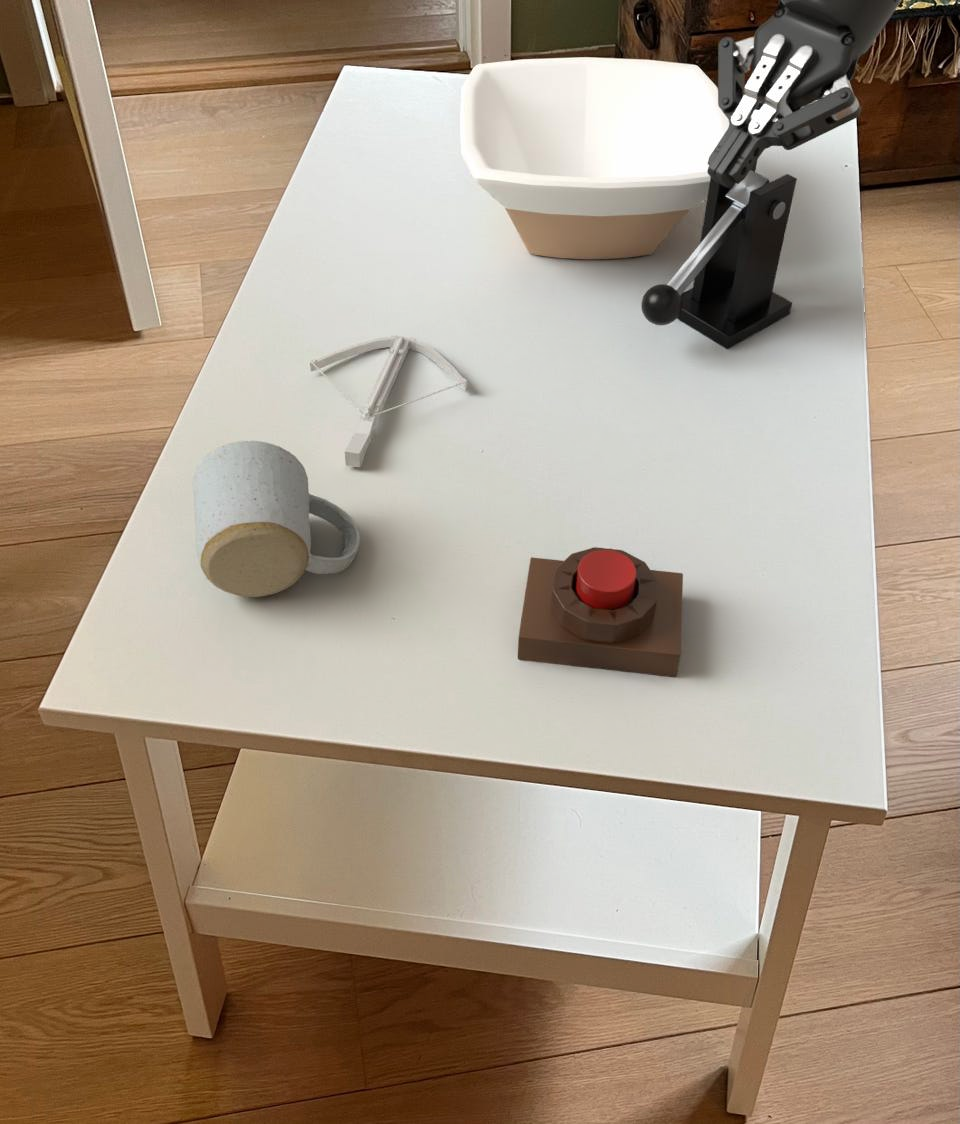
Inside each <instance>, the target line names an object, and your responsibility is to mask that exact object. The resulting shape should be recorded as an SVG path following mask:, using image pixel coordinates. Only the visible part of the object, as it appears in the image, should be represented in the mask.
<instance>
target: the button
mask: <svg viewBox="0 0 960 1124" xmlns="http://www.w3.org/2000/svg"><path fill="white" fill-rule="evenodd" d="M635 579H636V568H635V566H634V564H633V562H632V561H631V560H630V559H629V558H628V557H627V556H625V555H623V554H621V553H619V552H616V551H612V550H598V551H594V552H591V553H589V554H587V555H586V556H585V557H583V559H582V560H581V561H580V563H579V565H578V572H577V583H576V590H577V594H578V595H579V597H580V599H581V600H582V601H583V602H584V603H586V604H587V605H589V606H591V607H593V608H596V609H603V610H614V609H618V608H621V607H623V606H624V605H626V604H627V603H628V602H629V601H630V600H631V598H632V596H633V593H634V586H635Z"/></svg>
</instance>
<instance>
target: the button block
mask: <svg viewBox="0 0 960 1124" xmlns="http://www.w3.org/2000/svg"><path fill="white" fill-rule="evenodd" d="M598 550H612V551H616V552H619V553H621V554H623V555H625V556H627V557H628V558H629V559H630V560H631V561H632V562H633V564H634V566H635V568H636V579H635V586H634V593H633V596H632V598H631V600H630V601H629V602H628V603H627V604H626V605H624V606H623V607H621V608H618V609H614V610H603V609H596V608H593V607H591V606H589V605H587V604H586V603H584V602H583V601H582V600H581V599H580V597H579V595H578V594H577V590H576V583H577V572H578V565H579V563H580V561H581V560H582V559H583V557H585V556H586V555H587V554H589V553H591V552H594V551H598ZM528 565H529V566H528V571H527V577H526V580H527V581H526V585H525V593H524V598H523V604H522V610H521V611H522V612H521V619H520V626H519V631H518V638H517V660H523V661H529V662H530V661H532V662H540V663H548V664H558V665H565V666H566V665H567V666H574V667H576V666H577V667H584V668H592V669H602V670H611V671H612V670H613V671H620V672H628V673H629V672H630V673H639V674H646V675H656V676H663V677H665V676H666V677H673V678H676V677H677V675H678V670H679V667H680V666H679V665H680V661H681V656H682V626H683V624H682V623H683V588H684V573H683V572H674V571H673V572H672V571H667V570H666V571H665V570H656V569H650V567H649V566H648V564H647V563H646V562H645V561H644V560H642V559H640V558H638V557H636V556H634V555H633V554H630V553H629V552H627V551H625V550H623V549H615V548H605V547H595V546H594V547H590V548H586V549H583V550H580V551H577V552H574V553H571V554H570V555H568V557H567V558H566V559H565V560H560V559H553V558H551V559H550V558H542V557H533V556H532V557H530V559H529V564H528Z"/></svg>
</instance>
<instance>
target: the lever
mask: <svg viewBox="0 0 960 1124" xmlns="http://www.w3.org/2000/svg"><path fill="white" fill-rule="evenodd" d="M769 182H770V179H769V178H768V177H766V176H763V175H762V174H760V173H758V172H756V171H755V172H754V171H752V170H750V171H749V172H748V174H747V176H746V177H745V179H744V180H743V181H741V182H740V183H739V184H737V183H735V185H734V186H733V187H732V188H731V189H730V190H729V192H728V193H727V194H726V195H725V197H726V199H727V201H728V204H729V206H730V207H729V208H728V210H727V211H726V212H725V213H724V215H723V216H722V217H721V218H720V220H719V221H718V222H717V223H716V225H715V226H714V227H713V228H712V229H711V231H710V232H709V233H708V234H707V236H706V237H705V238H704V239H703V241H702V242H701V243H700V242H699V244H698V245H697V246H696V248H695V249H694V250H693V251H692V252H691V254H690V255H689V257H688V258H687V259H686V260H685V261H684V263H683V264H682V265H681V266H680V268H679V269H678V270H677V271H676V272H675V274H674V275H673V276H672V277H671V279H670V280H669V281H668V282H667V284H665V283H664V284H663V283H662V284H656V285H653V286H651V287H650V288H649V289H647V290H646V292H644V295H643V296H642V300H641V305H640V306H641V313H642V314H643V317H644V318H645V319H646V320H647V321H648V322H649V323H651V324H653V325H654V326H655V325H656V326H666V325H669V324H671V323H674V322H675V320H677V317H678V316H679V314H680V312H681V309H682V300H681V295H682V293H684V292H686V291H687V289H688V288H689V286H690V285H691V284H692V282H694V279H695V277H696V276H697V275H698V274H699V272H700V271H701V270H702V269H703V267H704V266H705V265H706V264H707V263H708V261H709V260H710V259H711V258H712V256H713V255H714V254H715V253H716V251H717V250H718V249H719V248H720V247H721V245H722V244H723V243H724V242H725V240H726V239H727V238H728V237H729V235H730V234H731V233H732V232H733V231H734V229H735V228H736V227H737V226H738V224H739V223H740V222H741V221H742V219H743V218H744V219H745V218H746V213H747V208H748V202H749V197H750V192H751V191H753V190H755V189H757V188H759V187H761V186H763V185H765V184H767V183H769Z"/></svg>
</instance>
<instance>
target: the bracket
mask: <svg viewBox="0 0 960 1124" xmlns="http://www.w3.org/2000/svg"><path fill="white" fill-rule="evenodd" d="M757 164H758V160H757V161H756V162H755V164H754V165H753V167H752V168H751V170H752V171H754V172H756V170H757ZM797 179H798V178H796V177H795V176H793V175H791V174H790V173H786V174H784V175H782V176H780V177H778V178H775V179H774V180H772V181H771V180H770V181H769V183H767V184H765V185H763V186H761V187H759V188H757V189H755V190H753V191H751V192H750V197H749V202H748V208H747V213H746V218H745V219H744V218H743V219H742V221H741V222H740V223H739V224H738V226H737V227H736V228H735V229H734V231H733V232H732V233H731V234H730V235H729V237H728V238H727V239H726V240H725V242H724V243H723V244H722V245H721V247H720V248H719V249H718V250H717V251H716V253H715V254H714V255H713V256H712V258H711V259H710V260H709V261H708V263H707V264H706V265H705V266H704V267H703V269H702V270H701V271H700V272H699V274H698V275H697V276H696V277H695V279H694V280H693V284H692V287H691V288H690V289H688V290H687V289H686V290H685V291H684V292H683V293H682V295H681V300H682V309H681V312H680V314H679V316H678V317H677V318H676V320H679V321H680V322H682V323H684V324H685V325H687V326H688V327H690V328H692V329H694V330H695V331H697V332H698V333H700V334H702V335H703V336H705V337H707V338H708V339H710V340H711V341H713V342H715V344H718V345H720V346H722V347H723V348H724V349H726V350H729V349H731V348H733V347H734V346H736V345H738V344H740V343H742V342H744V341H746V340H747V339H749V338H751V337H752V336H754V335H755V334H757V333H759V332H762V331H763V330H765V329H766V328H768V327H770V326H772V325H774V324H776V323H777V322H779V321H780V320H782V319H784V318H786V317H788V316H789V315H790V314H791V310H792V306H793V301H790V300H789V299H786V298H785V297H783V296H781V295H780V294H777V293H776V292H775V291H773V290H774V286H775V281H776V277H777V272H778V268H779V263H780V259H781V254H782V250H783V245H784V241H785V235H786V230H787V226H788V222H789V217H790V212H791V207H792V203H793V198H794V194H795V190H796V185H797V181H798V180H797ZM730 189H731V188H727V187H725V186H723V185H721V184H719V183H717V182H715V181H714V180H713V179H712V178H710V184H709V190H708V197H707V199H706V204H705V210H704V216H703V222H702V228H701V229H702V230H701V234H700V235H701V236H700V241H699V244H700V243H701V242H702V241H703V239H704V238H705V237H706V236H707V234H708V233H709V232H710V231H711V229H712V228H713V227H714V226H715V225H716V223H717V222H718V221H719V220H720V218H721V217H722V216H723V215H724V213H725V212H726V211H727V210H728V208H729V207H730V206H729V204H728V201H727V199H726V197H725V195H726V194H727V193H728V192H729V190H730Z"/></svg>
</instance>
